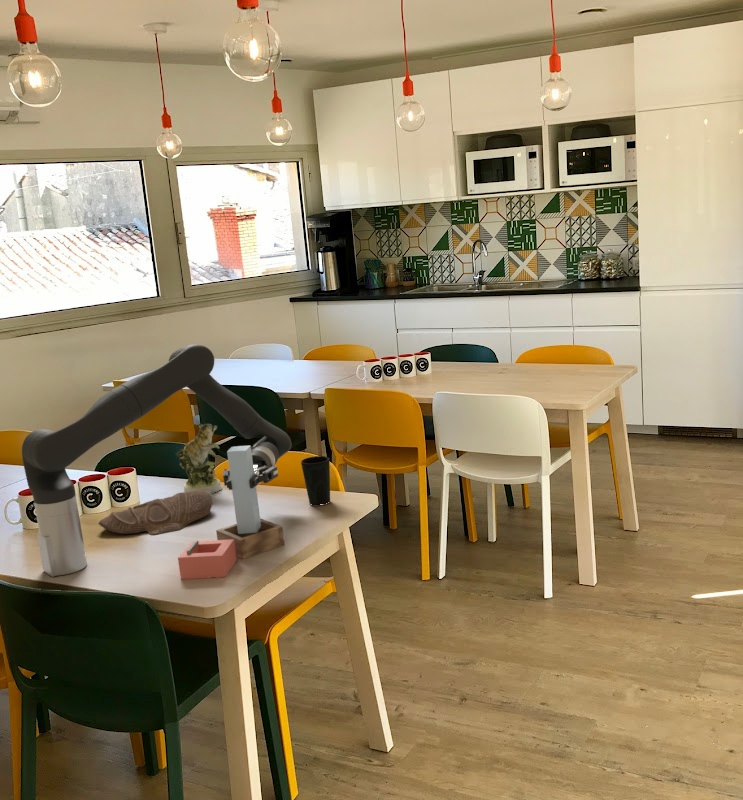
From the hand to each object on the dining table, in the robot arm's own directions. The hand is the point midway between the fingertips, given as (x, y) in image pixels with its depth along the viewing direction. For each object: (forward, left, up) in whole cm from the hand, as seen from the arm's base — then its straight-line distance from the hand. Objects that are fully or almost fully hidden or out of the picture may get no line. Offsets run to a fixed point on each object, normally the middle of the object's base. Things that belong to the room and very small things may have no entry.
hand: (240, 484), depth 211 cm
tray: (+2, +2, -16) cm, 16 cm away
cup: (+32, +16, -16) cm, 39 cm away
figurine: (+18, +56, -16) cm, 61 cm away
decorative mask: (-4, +40, -17) cm, 44 cm away
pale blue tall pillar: (+2, +2, -12) cm, 12 cm away
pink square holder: (-12, -3, -16) cm, 20 cm away
